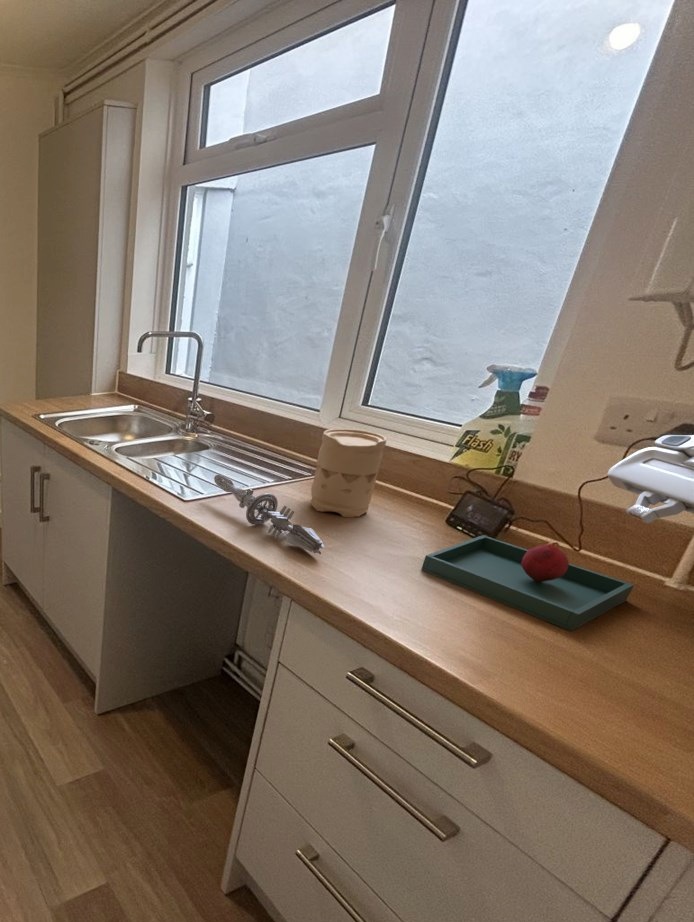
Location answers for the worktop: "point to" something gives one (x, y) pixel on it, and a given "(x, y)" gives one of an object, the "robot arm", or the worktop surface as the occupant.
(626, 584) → the tray
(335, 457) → the container
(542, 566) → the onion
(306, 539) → the spaceship
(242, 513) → the worktop surface
